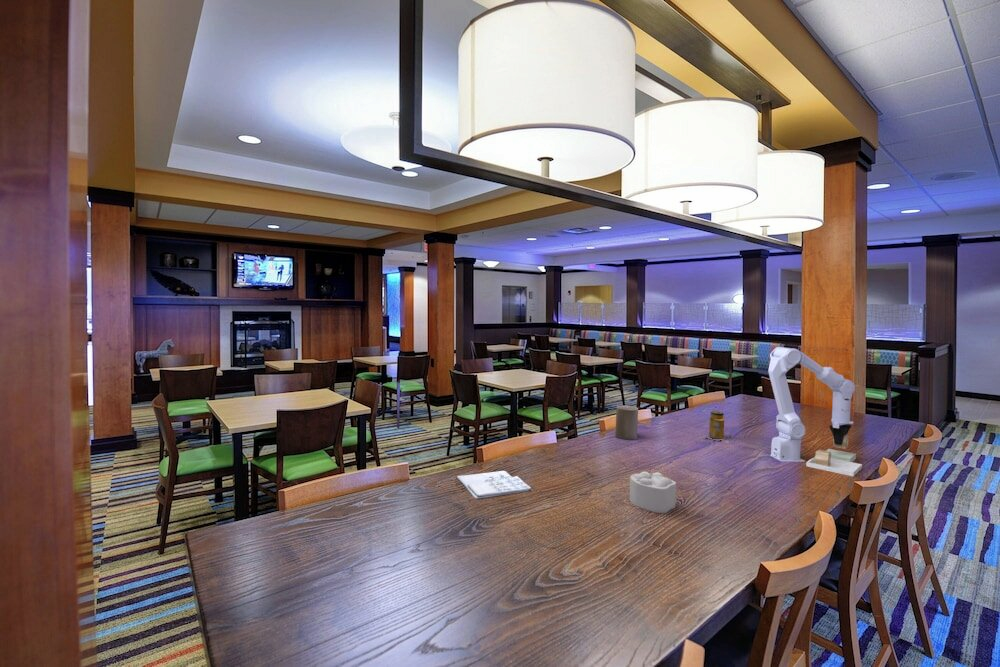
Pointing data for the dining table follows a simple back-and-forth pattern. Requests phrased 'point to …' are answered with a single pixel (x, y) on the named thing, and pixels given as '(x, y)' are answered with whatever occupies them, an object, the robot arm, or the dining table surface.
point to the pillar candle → (626, 422)
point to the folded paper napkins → (492, 484)
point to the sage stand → (842, 455)
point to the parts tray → (837, 466)
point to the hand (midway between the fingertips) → (839, 443)
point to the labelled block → (844, 444)
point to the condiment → (716, 425)
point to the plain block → (823, 458)
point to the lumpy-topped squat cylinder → (652, 492)
